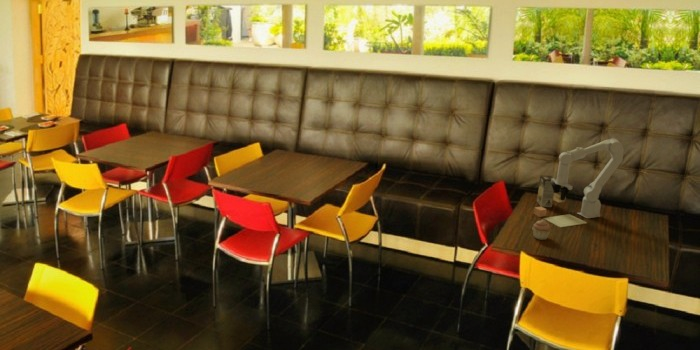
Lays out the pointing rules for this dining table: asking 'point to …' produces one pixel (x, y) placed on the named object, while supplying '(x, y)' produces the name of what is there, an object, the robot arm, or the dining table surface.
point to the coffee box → (545, 191)
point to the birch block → (558, 197)
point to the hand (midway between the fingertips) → (559, 198)
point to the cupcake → (541, 230)
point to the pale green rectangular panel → (565, 220)
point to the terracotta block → (540, 211)
